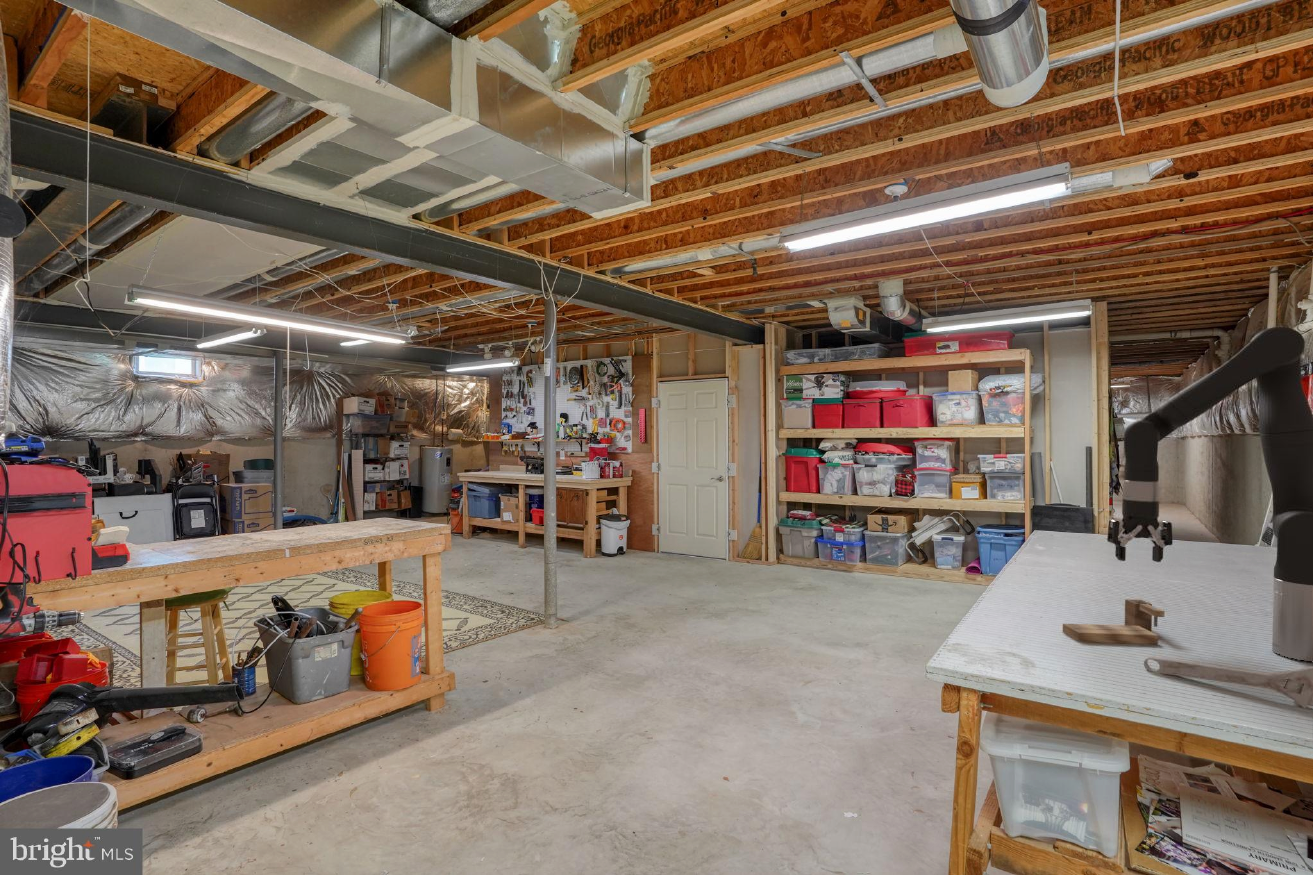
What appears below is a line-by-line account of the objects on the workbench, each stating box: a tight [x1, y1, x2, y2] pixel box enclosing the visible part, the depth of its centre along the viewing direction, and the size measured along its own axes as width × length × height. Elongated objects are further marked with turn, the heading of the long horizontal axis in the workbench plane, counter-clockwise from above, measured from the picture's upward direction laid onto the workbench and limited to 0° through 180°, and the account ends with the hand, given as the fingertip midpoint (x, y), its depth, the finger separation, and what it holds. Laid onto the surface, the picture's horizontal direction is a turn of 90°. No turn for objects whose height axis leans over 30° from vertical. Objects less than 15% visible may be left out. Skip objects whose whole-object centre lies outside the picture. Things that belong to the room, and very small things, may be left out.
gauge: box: [1124, 598, 1165, 632], centre depth 159 cm, size 4×10×7 cm, turn 174°
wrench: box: [1143, 656, 1313, 709], centre depth 124 cm, size 8×2×30 cm
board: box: [1062, 623, 1159, 645], centre depth 155 cm, size 18×7×2 cm, turn 84°
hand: (1138, 560), depth 162 cm, fingers open, 8 cm apart
